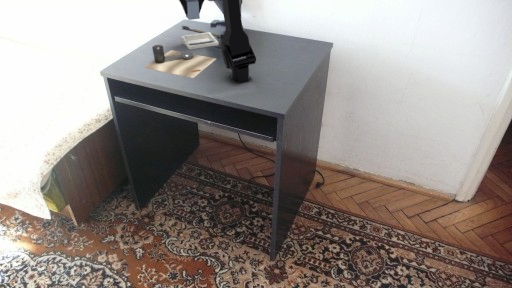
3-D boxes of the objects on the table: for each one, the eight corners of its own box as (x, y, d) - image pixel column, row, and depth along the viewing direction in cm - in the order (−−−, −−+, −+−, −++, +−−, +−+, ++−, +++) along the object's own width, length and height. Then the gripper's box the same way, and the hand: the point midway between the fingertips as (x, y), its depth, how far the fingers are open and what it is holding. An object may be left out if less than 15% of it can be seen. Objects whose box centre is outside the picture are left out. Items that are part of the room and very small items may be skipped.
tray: (218, 48, 135) (218, 42, 133) (189, 53, 131) (188, 46, 130) (210, 38, 143) (209, 32, 142) (182, 42, 140) (181, 35, 138)
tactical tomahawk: (229, 36, 148) (229, 33, 147) (219, 40, 143) (219, 37, 142) (190, 26, 156) (190, 23, 156) (180, 29, 151) (180, 26, 151)
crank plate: (217, 62, 125) (216, 58, 124) (193, 82, 113) (193, 77, 112) (171, 53, 130) (170, 49, 129) (144, 71, 119) (144, 67, 118)
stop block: (199, 18, 126) (198, 1, 122) (188, 19, 125) (187, 2, 121) (196, 15, 129) (195, -2, 125) (186, 16, 128) (184, -1, 124)
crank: (191, 53, 127) (190, 39, 124) (194, 58, 124) (193, 44, 121) (153, 59, 123) (151, 45, 120) (155, 64, 119) (153, 50, 116)
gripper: (208, -40, 125) (210, 5, 135) (155, -37, 119) (162, 10, 129) (217, -34, 117) (220, 14, 127) (161, -29, 111) (168, 20, 121)
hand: (192, 14), depth 126 cm, fingers closed on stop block, 4 cm apart
